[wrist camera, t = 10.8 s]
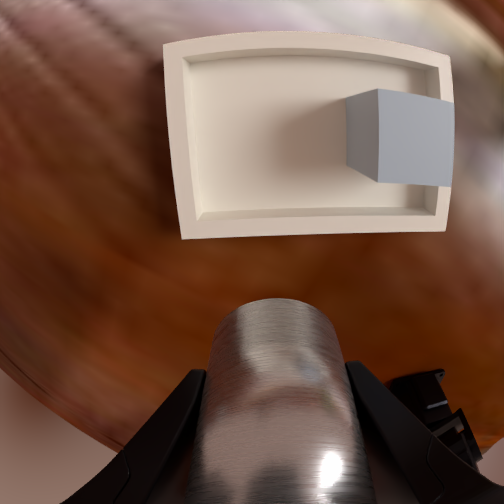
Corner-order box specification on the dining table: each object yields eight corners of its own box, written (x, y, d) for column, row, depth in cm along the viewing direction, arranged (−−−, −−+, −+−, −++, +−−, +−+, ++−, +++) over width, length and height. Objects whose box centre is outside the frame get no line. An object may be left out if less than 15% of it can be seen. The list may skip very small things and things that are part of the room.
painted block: (406, 168, 15) (451, 187, 11) (346, 165, 16) (377, 182, 11) (407, 104, 14) (453, 102, 9) (345, 97, 14) (377, 88, 9)
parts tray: (427, 218, 17) (445, 231, 15) (192, 224, 18) (181, 239, 16) (429, 61, 13) (449, 56, 10) (176, 54, 14) (163, 44, 11)
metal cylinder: (330, 381, 10) (355, 531, 4) (222, 387, 10) (204, 538, 5) (342, 293, 8) (409, 498, 3) (202, 301, 8) (150, 511, 3)
